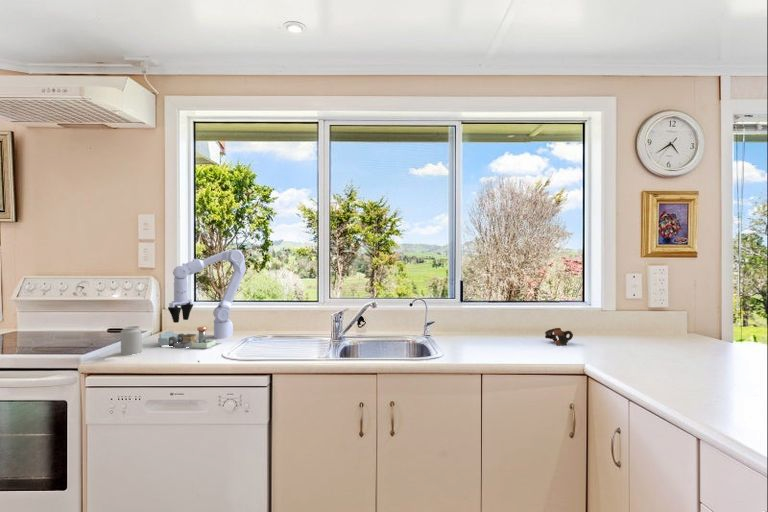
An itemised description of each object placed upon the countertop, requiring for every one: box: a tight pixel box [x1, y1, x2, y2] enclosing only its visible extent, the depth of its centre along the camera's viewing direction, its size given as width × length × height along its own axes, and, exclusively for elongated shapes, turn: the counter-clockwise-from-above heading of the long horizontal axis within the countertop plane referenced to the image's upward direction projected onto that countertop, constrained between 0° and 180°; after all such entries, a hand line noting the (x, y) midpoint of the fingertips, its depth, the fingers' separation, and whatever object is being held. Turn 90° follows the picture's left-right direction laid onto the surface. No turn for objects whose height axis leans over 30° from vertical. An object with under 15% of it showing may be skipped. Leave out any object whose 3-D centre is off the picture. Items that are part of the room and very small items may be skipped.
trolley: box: [157, 330, 186, 346], centre depth 199 cm, size 10×7×5 cm
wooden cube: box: [183, 333, 197, 343], centre depth 202 cm, size 4×4×4 cm
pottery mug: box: [544, 327, 574, 347], centre depth 205 cm, size 12×10×8 cm
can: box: [120, 325, 143, 356], centre depth 184 cm, size 8×8×12 cm
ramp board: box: [173, 342, 222, 350], centre depth 198 cm, size 12×24×3 cm, turn 81°
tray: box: [192, 339, 217, 350], centre depth 195 cm, size 7×7×2 cm
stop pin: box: [196, 326, 208, 343], centre depth 195 cm, size 4×4×8 cm
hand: (181, 321), depth 207 cm, fingers open, 7 cm apart
